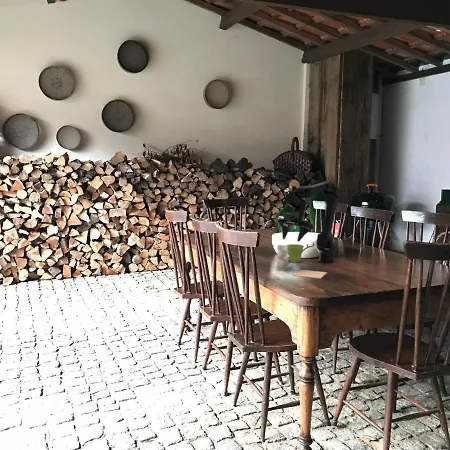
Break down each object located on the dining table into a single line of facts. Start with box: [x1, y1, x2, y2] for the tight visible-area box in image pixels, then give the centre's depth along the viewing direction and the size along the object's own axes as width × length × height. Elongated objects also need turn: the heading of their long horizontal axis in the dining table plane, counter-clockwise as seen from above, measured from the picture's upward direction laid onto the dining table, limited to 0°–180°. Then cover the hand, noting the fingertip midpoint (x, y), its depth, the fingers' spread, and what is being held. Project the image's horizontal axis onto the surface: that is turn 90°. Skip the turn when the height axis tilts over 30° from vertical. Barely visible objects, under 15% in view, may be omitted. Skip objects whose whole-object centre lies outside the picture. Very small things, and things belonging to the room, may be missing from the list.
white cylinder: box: [276, 244, 289, 272], centre depth 241 cm, size 5×5×12 cm
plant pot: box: [285, 243, 305, 263], centre depth 263 cm, size 9×9×9 cm
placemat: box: [292, 269, 328, 280], centre depth 233 cm, size 13×13×1 cm
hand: (290, 240), depth 240 cm, fingers open, 9 cm apart
